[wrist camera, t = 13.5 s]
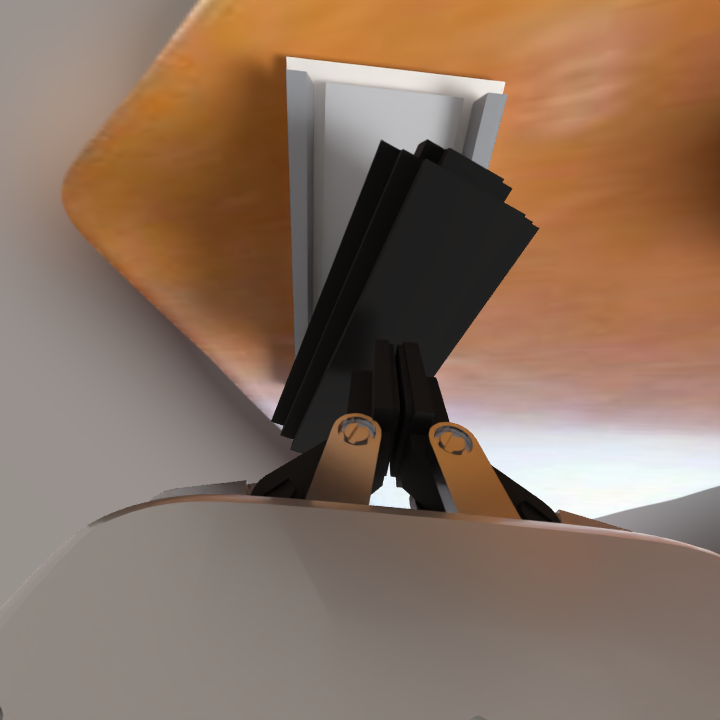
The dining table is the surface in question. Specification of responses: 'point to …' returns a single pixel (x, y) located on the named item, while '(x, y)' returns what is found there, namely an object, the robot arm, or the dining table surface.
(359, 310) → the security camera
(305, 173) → the rail mount
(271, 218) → the dining table surface
